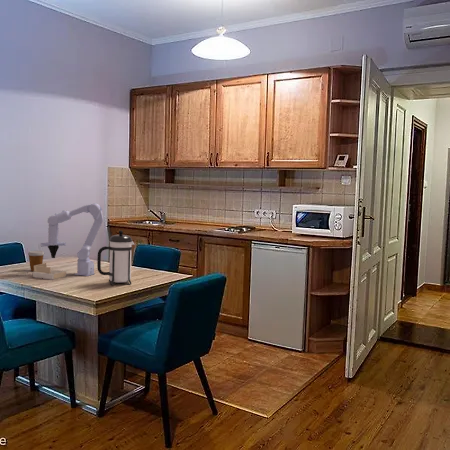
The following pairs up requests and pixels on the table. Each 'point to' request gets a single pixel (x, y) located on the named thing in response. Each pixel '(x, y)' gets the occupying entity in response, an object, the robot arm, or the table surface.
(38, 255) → the disposable coffee cup
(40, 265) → the far flap
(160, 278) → the table surface
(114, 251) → the coffee press
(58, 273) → the carton
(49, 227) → the robot arm
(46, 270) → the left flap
